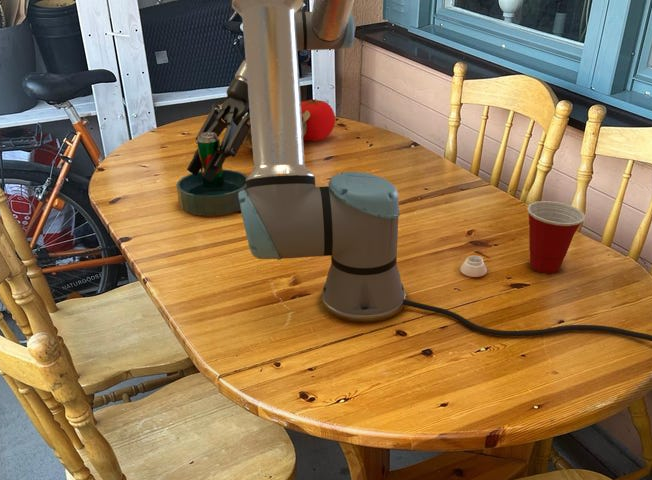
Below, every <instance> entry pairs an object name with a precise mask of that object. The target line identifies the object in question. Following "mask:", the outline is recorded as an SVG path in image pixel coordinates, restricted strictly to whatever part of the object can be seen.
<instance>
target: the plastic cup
mask: <svg viewBox="0 0 652 480" xmlns="http://www.w3.org/2000/svg"><path fill="white" fill-rule="evenodd" d="M526 210H527V213H528V230H529V232H528V235H529V236H528V237H529V239H528V241H529V242H528V247H529V248H528V250H529V263H530V267H531V269H533V270H534V271H536V272H539V273H543V274H553V273H557V272H558V271H560V269H561V267H562V265H563V263H564V260H565V257H566V256H567V253H568V250H569V248H570V246H571V244H572V241H573V238H574V236H575V233H577V231H578V229H579V227H580V225H581V224H582V223H583V222H584V221H585V219H586V215H585V213H584V212H583V211H582V210H580V209H578V208H577V207H576V206H573V205H571V204H567V203H562V202H559V201H551V200H548V201H547V200H541V201H539V200H538V201H534V202H532V203H529V204H528V206H527V207H526Z"/></svg>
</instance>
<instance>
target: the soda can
mask: <svg viewBox="0 0 652 480" xmlns="http://www.w3.org/2000/svg"><path fill="white" fill-rule="evenodd" d="M197 135H198V134H197ZM220 141H221V140H220V137H219V136H217V134H216V133H214V132H204V133H201V134H199V135H198V139H197V140H196V146H197V148H198V153H199V160H200V168H201V169H200V171H201V175H202V174H203V172H204V170H205V169H206V167H207V165H208V163H209V161H210V160H211V158H212V156H213V154H214V152H215V151H217V148H220V145H221V142H220ZM217 152H219V151H217ZM219 153H220V152H219ZM223 169H224V167H223V165H222V166H221V168H220V169H219V170H218V171H217V173H216V175H215V177H214V179H213V180H212V182H209V181H208V180H206V179H205V178H204V177H202V183H203V186H204V187H206V188H208V189H217V188H220V187H222V186H223V184H224V175H223Z"/></svg>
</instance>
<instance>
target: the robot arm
mask: <svg viewBox="0 0 652 480" xmlns="http://www.w3.org/2000/svg"><path fill="white" fill-rule="evenodd" d="M230 1H231V8H232V9H233V10H234V11H235V12H236V13H237V14H238V15H239V16H240V17H241V21H242V31H243V32H242V34H243V45H244V59H243V61H242V62H241V64H240V65H239V67H238V69H237V71H236V73H235V74H234V78H233V79H232V80H231V82H230V84H229V86H228V88H227V89H226V93H225V94H226V95H227V97H226V99H225V100H224V101H223V102H222V103H221V104H218V103H217V102H214V103H213V104H211V105H212V106H211V109H210V112H209V114H208V115H207V117H206V118H205V119H206V120H205V121H204V122H203V124H202V126H201V128H200V130H199V132H198V133H197V135H196V137H195V141H197V139H198V135H199V134H201V133H204V132H214V133H216V134H217V136H218V137H220V135H221V134H222V133H223V131H224V135H223V137H222V140H221V142H220V148H217V151H219V152H220V153H219V152H217V151H215V152H214V154H213V156H212V158H211V160H210V161H209V163H208V165H207V167H206V169H205V170H204V172H203V174H202V177H204V178H205V179H206V180H208V181H209V182H212V180H213V179H214V177H215V175H216V173H217V171H218V170H219V169H220V168H221V166H222V167H223V165H224V163H225V161H226V159H227V158H229V157H232V158H234V157H236V156H237V153H238V152H239V150H240V148H241V146H242V145H241V144H242V143H243V141H244V139H245V137H246V135H247V133H248V132H249V130H250V128H251V136H252V148H251V149H252V160H253V169H252V171H251V172H250V173H249V175H247V176H248V177H247V178H246V188H247V190H246V191H245V190H242V191H240V192H239V193H238V197H239V202H240V207H241V210H240V212H241V217H242V222H243V227H244V231H245V236H246V240H247V244H248V247H249V252H250V253H251V255H252V256H253V257H254V258H256V259H258V260H277V261H281V260H285V259H287V260H288V259H302V258H314V257H315V258H316V257H329V256H330V266H329V270H328V272H327V276H326V278H325V283H324V285H323V288H322V291H321V303H322V306H323V308H324V310H325V311H326V312H327V313H328V314H329V315H331V316H333V317H334V318H337V319H339V320H342V321H346V322H351V323H356V324H357V323H358V324H369V323H377V322H378V323H379V322H382V321H383V322H384V321H385V320H388V319H391V318H393V317H395V316H396V315H399V313H401V312H402V311H403V309H404V307H405V306H407V307H411V308H414V309H419V310H422V311H423V310H424V311H427V312H428V311H429V312H432V313H437V314H440V315H444V316H446V317H450V318H451V319H454V320H456V321H457V322H459V323H461V324H463V325H464V326H466V327H467V328H469V329H471V330H473V331H476V332H478V333H482V334H486V335H491V336H496V337H497V336H498V337H534V336H535V337H536V336H545V335H550V334H557V333H564V332H571V331H572V332H573V331H589V332H590V331H591V332H592V331H593V332H604V333H610V334H611V333H612V334H616V335H622V336H626V337H631V338H636V339H640V340H645V341H649V342H652V334H649V333H644V332H638V331H634V330H629V329H624V328H620V327H614V326H610V325H609V326H607V325H598V324H565V325H559V326H553V327H548V328H541V329H525V330H521V329H520V330H503V329H501V330H500V329H493V328H489V327H484V326H481V325H479V324H475V323H474V322H472V321H470V320H469V319H467V318H465V317H464V316H462V315H460V314H458V313H456V312H454V311H451V310H448V309H447V308H442V307H438V306H434V305H429V304H425V303H421V302H416V301H413V300H410V299H409V300H408V299H406V291H405V287H404V284H403V283H402V279H401V275H400V270H399V267H398V264H397V262H398V261H397V260H398V238H399V237H398V236H399V218H400V215H401V212H400V202H399V201H400V200H399V198H400V197H399V192H398V189H397V187H396V186H395V185H394V184H393V183H392V182H391V181H389V180H388V179H386V178H384V177H381V176H379V175H375V174H373V173H368V172H362V171H344V172H340V173H336V174H334V175H332V176H331V177H330V178H329V179H330V180H329V182H328V185H325V186H316V176H315V174H314V173H313V172H312V171H311V170H310V169H309V168H308V167H307V165H306V159H305V158H306V157H305V147H304V146H305V142H304V139H303V128H302V113H301V102H302V100H301V86H300V85H301V84H300V69H299V56H298V55H299V54H298V52H299V51H327V50H335V51H340V50H343V49H350V48H351V47H353V45H354V41H355V21H354V20H355V19H354V15H353V13H352V9H353V6H354V4H355V0H313V5H312V10H311V11H300V9H302V7H303V6H304V0H230ZM299 11H300V12H299ZM186 170H187V171H188V172H189V173H190V174H193V175H195V176H197V174H198V172H199V171H201V168H200V160H199V153H198V147H197V148H196V150H195V152H194V154H193V155H192V159H191V161H190V163H189V165H188V166H187V168H186ZM647 480H652V465H651V467H650V470H649V472H648V476H647Z"/></svg>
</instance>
